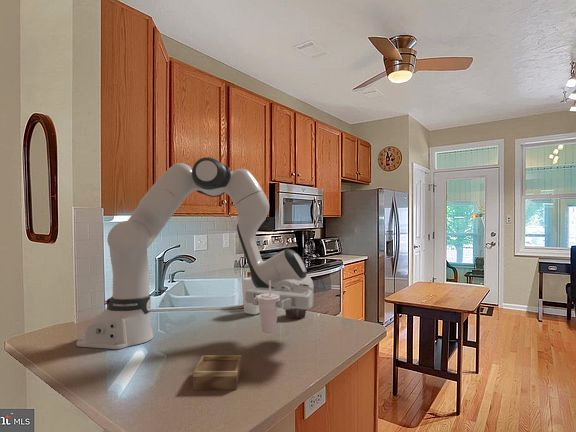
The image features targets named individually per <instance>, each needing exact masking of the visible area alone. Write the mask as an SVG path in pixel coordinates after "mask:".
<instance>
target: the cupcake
mask: <svg viewBox="0 0 576 432" xmlns="http://www.w3.org/2000/svg"><path fill="white" fill-rule="evenodd" d="M284 311H285V317H286V318H287V319H289V320H290V319H291V320H301V319H302V320H303V319H305V317H306V314H307V313H306V312H307V309H298V308H291V309H284Z"/></svg>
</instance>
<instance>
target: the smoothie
mask: <svg viewBox="0 0 576 432" xmlns="http://www.w3.org/2000/svg"><path fill="white" fill-rule="evenodd" d="M279 300H280V296H279V295H278V294H275V293H271V280H269V293H264V294H260V295H258V296H257V301H258V304H259V311H260V313H259V315H260V323H261V329H262V330H261V331H262V333H265V334H271V333H275V332H276V331H277V323H278V322H277V321H278V312H279V308H277V301H279Z"/></svg>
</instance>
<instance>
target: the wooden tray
mask: <svg viewBox="0 0 576 432" xmlns="http://www.w3.org/2000/svg"><path fill="white" fill-rule="evenodd" d="M241 373H242V355H241V354H240V355H239V354H238V355H236V354H235V355H233V354H231V355H230V354H228V355H221V354H220V355H202V356H201V357H200V360H199V361H198V363H197V365H196V366H195V368H194V370H193V372H192V390H193V391H195V390H196V391H200V390H201V391H208V390H210V391H211V390H213V391H214V390H220V391H221V390H224V391H225V390H237V388H238V385H239V381H240V376H241Z"/></svg>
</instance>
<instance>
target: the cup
mask: <svg viewBox="0 0 576 432" xmlns="http://www.w3.org/2000/svg"><path fill="white" fill-rule="evenodd" d="M253 288H256V287H255V286H254V284H253V282H252V279H251V277H249V278H248V277H245V278H242V303H243V310H244V311H243V313H244V314H246V315H251V316H255V315H256V316H257V315H258V314H259V315H260V311H259V305H253V303H247V302H246V300H245V293H246V291H247V290H249V289H253Z"/></svg>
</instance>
